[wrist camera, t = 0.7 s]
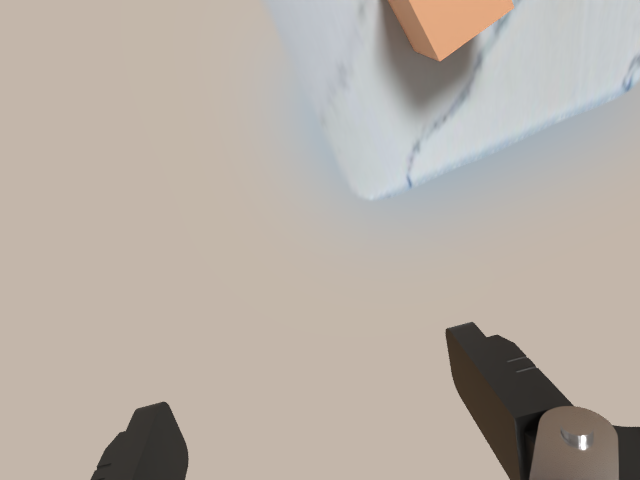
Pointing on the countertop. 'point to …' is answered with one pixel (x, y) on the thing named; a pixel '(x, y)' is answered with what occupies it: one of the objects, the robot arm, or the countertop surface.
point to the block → (446, 22)
